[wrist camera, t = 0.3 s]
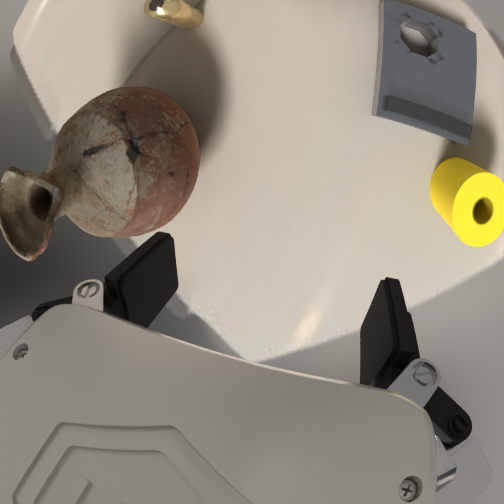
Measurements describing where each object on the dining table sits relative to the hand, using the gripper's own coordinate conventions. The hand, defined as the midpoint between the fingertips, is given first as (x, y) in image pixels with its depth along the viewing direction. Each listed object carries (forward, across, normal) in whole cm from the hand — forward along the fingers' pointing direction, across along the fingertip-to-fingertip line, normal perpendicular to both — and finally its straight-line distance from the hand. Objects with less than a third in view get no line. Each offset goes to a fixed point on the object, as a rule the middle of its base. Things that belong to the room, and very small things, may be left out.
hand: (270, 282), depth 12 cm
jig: (+30, -14, -17) cm, 38 cm away
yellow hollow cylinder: (+31, -23, -1) cm, 38 cm away
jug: (+31, +25, +1) cm, 39 cm away
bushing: (+30, +21, -22) cm, 43 cm away
